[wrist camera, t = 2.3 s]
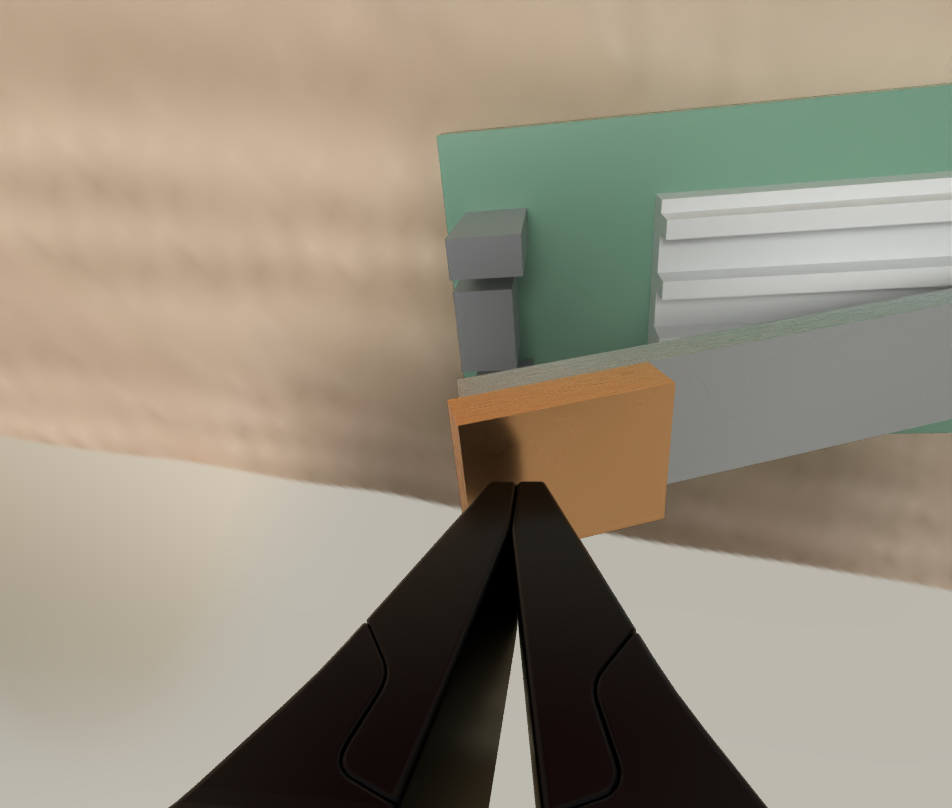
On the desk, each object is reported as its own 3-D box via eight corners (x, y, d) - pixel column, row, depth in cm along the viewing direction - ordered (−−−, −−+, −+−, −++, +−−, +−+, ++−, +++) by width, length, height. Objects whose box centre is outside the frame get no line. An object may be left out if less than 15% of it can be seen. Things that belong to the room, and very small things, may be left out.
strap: (1201, 223, 13) (1335, 238, 11) (1133, 358, 14) (1240, 390, 13) (434, 359, 10) (455, 408, 8) (455, 509, 12) (477, 576, 10)
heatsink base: (1199, 58, 14) (1548, 36, 9) (1042, 412, 18) (1215, 522, 14) (443, 132, 16) (399, 147, 12) (475, 423, 21) (452, 518, 16)
